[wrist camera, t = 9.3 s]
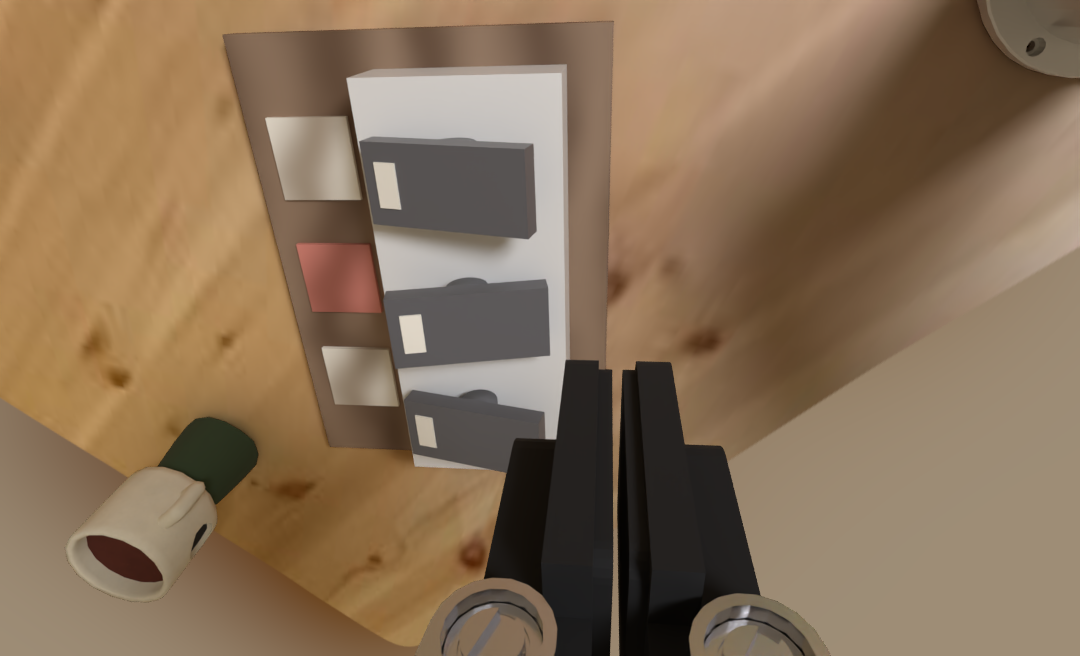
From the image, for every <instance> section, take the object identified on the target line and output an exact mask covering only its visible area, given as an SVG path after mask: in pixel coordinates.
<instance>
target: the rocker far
mask: <svg viewBox="0 0 1080 656" xmlns="http://www.w3.org/2000/svg"><path fill="white" fill-rule="evenodd" d="M404 406H405V411H406V417H407V423H408V428H409V434H410V440H411V445H412V451H413V454H416V455H421V456H426V457H431V458H436V459H441V460H446V461H451V462H456V463H461V464H466V465H471V466H476V467H481V468H486V469H490V470H495V471H500V472H505V473H507V469H508V465H509V460H510V455H511V451H512V446H513V443H514V440H515V439H516V438H531V439H546V437H545V412H542V411H536V410H530V409H524V408H518V407H512V406H506V405H500V404H498V400H497V396H496V394H495V393H493V392H491V391H489V390H482V389H480V390H473V391H470V392H468V393H466V394H464V395H463V396H462V397H461V398H459V397H453V396H447V395H441V394H435V393H429V392H423V391H417V390H412V391H411V392H410V393H409V395H408V396H407V397H406V398H405V399H404Z"/></svg>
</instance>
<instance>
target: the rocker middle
mask: <svg viewBox="0 0 1080 656" xmlns="http://www.w3.org/2000/svg"><path fill="white" fill-rule="evenodd" d="M383 302H384V308H385V313H386V319H387V325H388V330H389V336H390V341H391V347H392V353H393V358H394V364H395V369H401V368H412V367H424V366H436V365H447V364H459V363H471V362H482V361H494V360H506V359H517V358H529V357H541V356H550V331H549V297H548V285H547V282H546V279H540V280H527V281H514V282H501V283H487V282H486V281H485V280H483V279H480V278H474V277H467V278H460V279H456V280H454V281H451V282H450V283H448V284H447V286H446V287H435V288H421V289H408V290H395V291H386V292H385V296H384V300H383Z"/></svg>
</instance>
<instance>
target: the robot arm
mask: <svg viewBox="0 0 1080 656" xmlns="http://www.w3.org/2000/svg"><path fill="white" fill-rule="evenodd" d="M977 3H978V6H979V10H980V14H981V18H982V21H983V24H984V26H985V28H986V30H987V31H988V33H989V35H990V37H991V39H992V40H993V42H994V43H995V44H996V45H997V46H998V47H999V49H1000V50H1001V51H1002V52H1003V53H1004V54H1005V55H1006V56H1007V57H1008V58H1010V59H1012V60H1013V61H1015V62H1017V63H1018V64H1020V65H1022V66H1023V67H1025V68H1027V69H1030V70H1034V71H1037V72H1040V73H1044V74H1047V75H1053V76H1060V77H1066V78H1080V0H977ZM1029 42H1030V46H1029V48H1028V49H1027V50H1026V47H1027V45H1028V44H1029ZM617 522H618V589H619V654H620V655H619V656H831V655H830V653H829V651H828V649H827V647H826V646H825V644H824V643H823V641H822V640H821V638H820V637H819V635H818V634H817V632H816V631H815V629H814V628H813V627H812V626H811V625H810V624H808V623H807V622H806V621H805V620H804V619H803V618H802V617H801V616H800V615H799V614H798V613H796V612H795V611H793V610H791V609H789V608H788V607H786V606H784V605H783V604H781V603H779V602H778V601H775V600H771V599H768V598H765V597H762V596H761V595H760V591H759V587H758V583H757V579H756V575H755V572H754V567H753V563H752V559H751V555H750V552H749V548H748V543H747V539H746V535H745V531H744V527H743V523H742V519H741V516H740V511H739V507H738V503H737V499H736V495H735V491H734V488H733V483H732V479H731V475H730V471H729V467H728V463H727V459H726V455H725V452H724V449H723V448H722V447H721V446H708V445H685V444H684V438H683V432H682V426H681V419H680V413H679V407H678V401H677V395H676V389H675V383H674V377H673V371H672V365H671V363H670V362H641V361H636V367H635V370H623V373H622V397H621V422H620V447H619V472H618V500H617ZM612 583H613V435H612V370H608V369H599V360H566V361H565V368H564V377H563V385H562V393H561V402H560V410H559V418H558V427H557V435H556V439H531V438H516V439H515V440H514V443H513V446H512V451H511V455H510V460H509V465H508V469H507V474H506V479H505V483H504V488H503V493H502V497H501V502H500V507H499V511H498V516H497V521H496V525H495V530H494V535H493V539H492V544H491V549H490V553H489V558H488V563H487V567H486V572H485V577H484V580H479V581H474V582H472V583H470V584H468V585H466V586H464V587H462V588H460V589H458V590H456V591H455V592H454V593H453V594H451V595H450V596H449V597H448V598H447V599H446V600H445V601H444V602H442V603H441V605H440V606H439V608H438V610H437V611H436V613H435V614H434V616H433V617H432V619H431V621H430V623H429V625H428V627H427V630H426V632H425V634H424V636H423V638H422V641H421V643H420V645H419V647H418V650H417V652H416V654H415V656H610V637H611V612H612V586H613V584H612Z"/></svg>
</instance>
